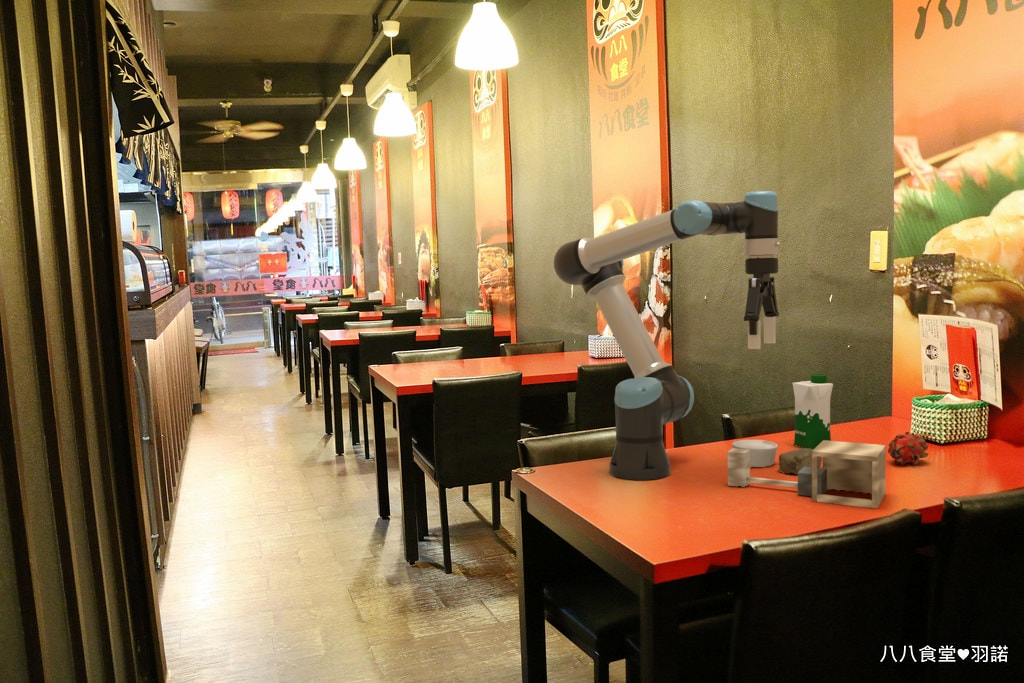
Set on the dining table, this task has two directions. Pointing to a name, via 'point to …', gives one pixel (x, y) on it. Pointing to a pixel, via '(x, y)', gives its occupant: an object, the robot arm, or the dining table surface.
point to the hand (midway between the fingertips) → (762, 346)
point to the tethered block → (741, 477)
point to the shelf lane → (850, 472)
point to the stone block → (796, 460)
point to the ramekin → (758, 451)
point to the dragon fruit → (907, 448)
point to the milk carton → (812, 411)
